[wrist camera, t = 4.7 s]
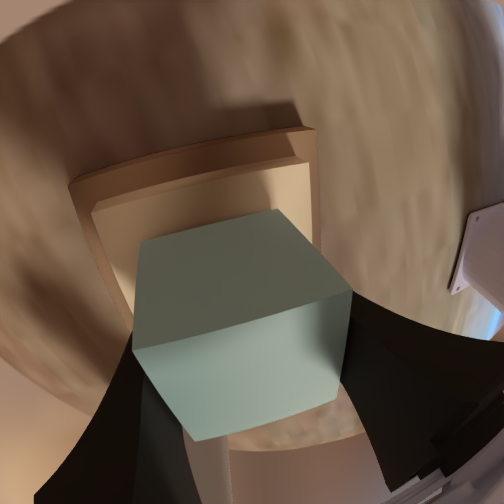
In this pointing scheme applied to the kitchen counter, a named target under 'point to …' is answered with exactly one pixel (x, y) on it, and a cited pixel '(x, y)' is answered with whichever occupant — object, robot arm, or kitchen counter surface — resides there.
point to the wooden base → (194, 196)
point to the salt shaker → (210, 468)
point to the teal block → (239, 323)
